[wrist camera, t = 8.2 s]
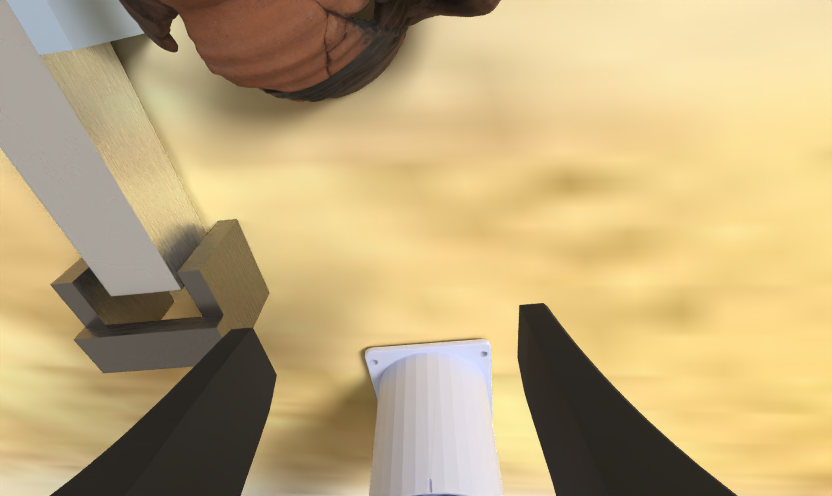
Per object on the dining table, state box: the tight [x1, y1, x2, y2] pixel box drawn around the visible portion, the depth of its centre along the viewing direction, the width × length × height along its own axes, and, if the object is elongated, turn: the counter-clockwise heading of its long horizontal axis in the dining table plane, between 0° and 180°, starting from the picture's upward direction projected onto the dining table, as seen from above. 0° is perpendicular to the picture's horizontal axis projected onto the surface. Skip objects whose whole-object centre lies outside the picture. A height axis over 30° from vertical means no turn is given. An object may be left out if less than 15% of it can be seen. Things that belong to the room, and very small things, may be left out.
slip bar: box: [0, 0, 207, 296], centre depth 16 cm, size 12×3×3 cm, turn 7°
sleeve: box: [50, 219, 269, 373], centre depth 20 cm, size 5×7×5 cm
